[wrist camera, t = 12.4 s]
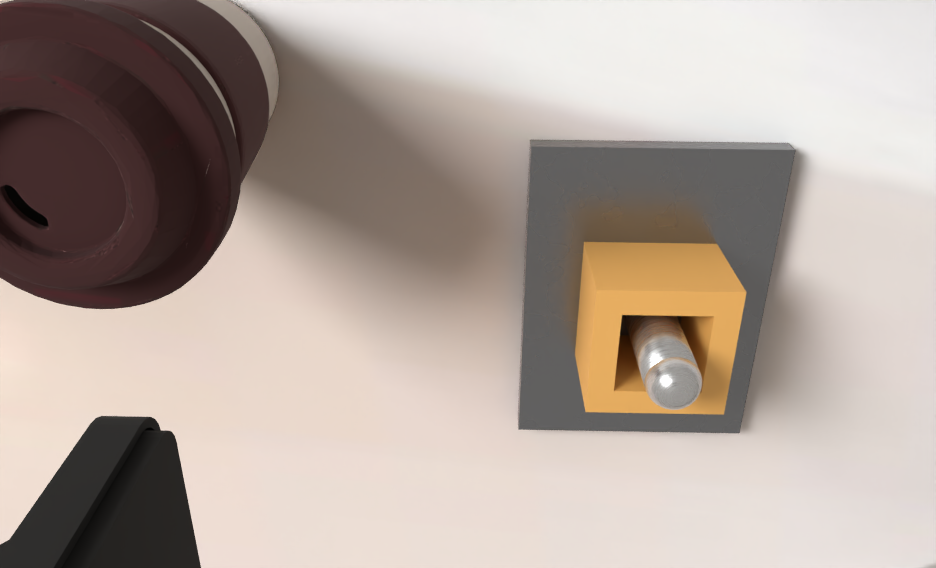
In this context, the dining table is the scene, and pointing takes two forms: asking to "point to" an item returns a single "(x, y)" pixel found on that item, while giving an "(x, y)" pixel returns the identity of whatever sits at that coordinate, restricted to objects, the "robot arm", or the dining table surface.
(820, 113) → the dining table surface
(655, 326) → the keeper
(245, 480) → the dining table surface
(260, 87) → the coffee cup
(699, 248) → the orange hollow square block
